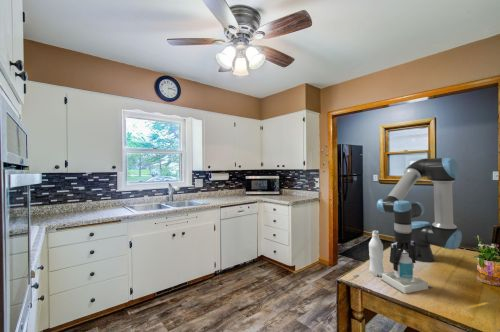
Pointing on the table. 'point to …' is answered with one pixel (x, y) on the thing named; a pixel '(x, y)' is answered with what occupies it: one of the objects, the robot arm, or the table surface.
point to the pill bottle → (405, 267)
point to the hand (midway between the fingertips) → (403, 275)
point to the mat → (399, 290)
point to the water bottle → (376, 255)
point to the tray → (405, 283)
